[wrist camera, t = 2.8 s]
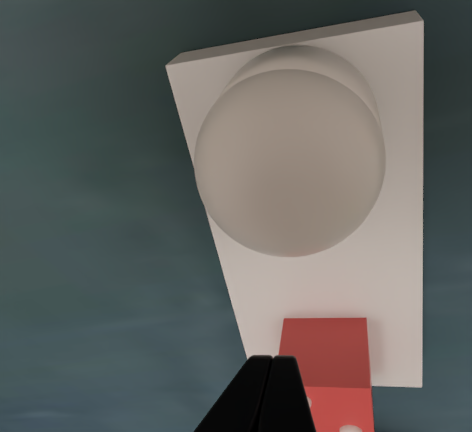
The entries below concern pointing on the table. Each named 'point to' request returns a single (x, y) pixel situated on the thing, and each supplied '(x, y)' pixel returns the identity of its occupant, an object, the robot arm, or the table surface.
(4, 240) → the table surface
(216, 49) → the dome base
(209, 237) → the table surface
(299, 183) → the dome button
